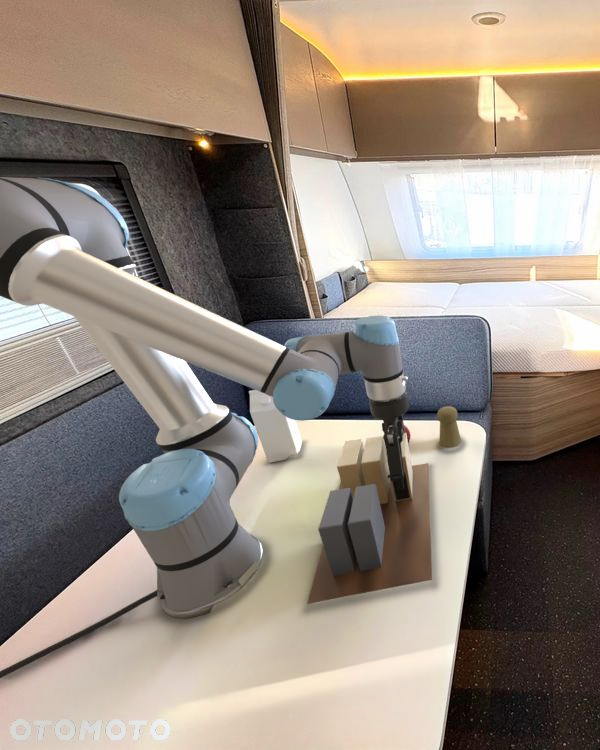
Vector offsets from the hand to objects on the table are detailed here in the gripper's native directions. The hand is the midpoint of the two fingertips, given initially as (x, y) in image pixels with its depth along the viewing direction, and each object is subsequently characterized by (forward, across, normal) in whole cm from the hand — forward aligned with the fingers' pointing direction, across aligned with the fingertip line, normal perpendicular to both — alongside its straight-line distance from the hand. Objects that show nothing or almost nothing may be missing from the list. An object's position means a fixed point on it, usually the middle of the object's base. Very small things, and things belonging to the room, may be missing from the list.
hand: (404, 482), depth 86 cm
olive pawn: (+2, +15, -11) cm, 19 cm away
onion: (+2, +17, +2) cm, 17 cm away
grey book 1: (+1, -16, +10) cm, 19 cm away
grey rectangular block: (+1, -16, +5) cm, 17 cm away
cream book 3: (+1, 0, 0) cm, 1 cm away
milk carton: (+2, +22, +32) cm, 39 cm away
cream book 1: (+1, 0, +10) cm, 10 cm away
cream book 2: (+1, 0, +5) cm, 5 cm away
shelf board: (+2, -9, +5) cm, 10 cm away
